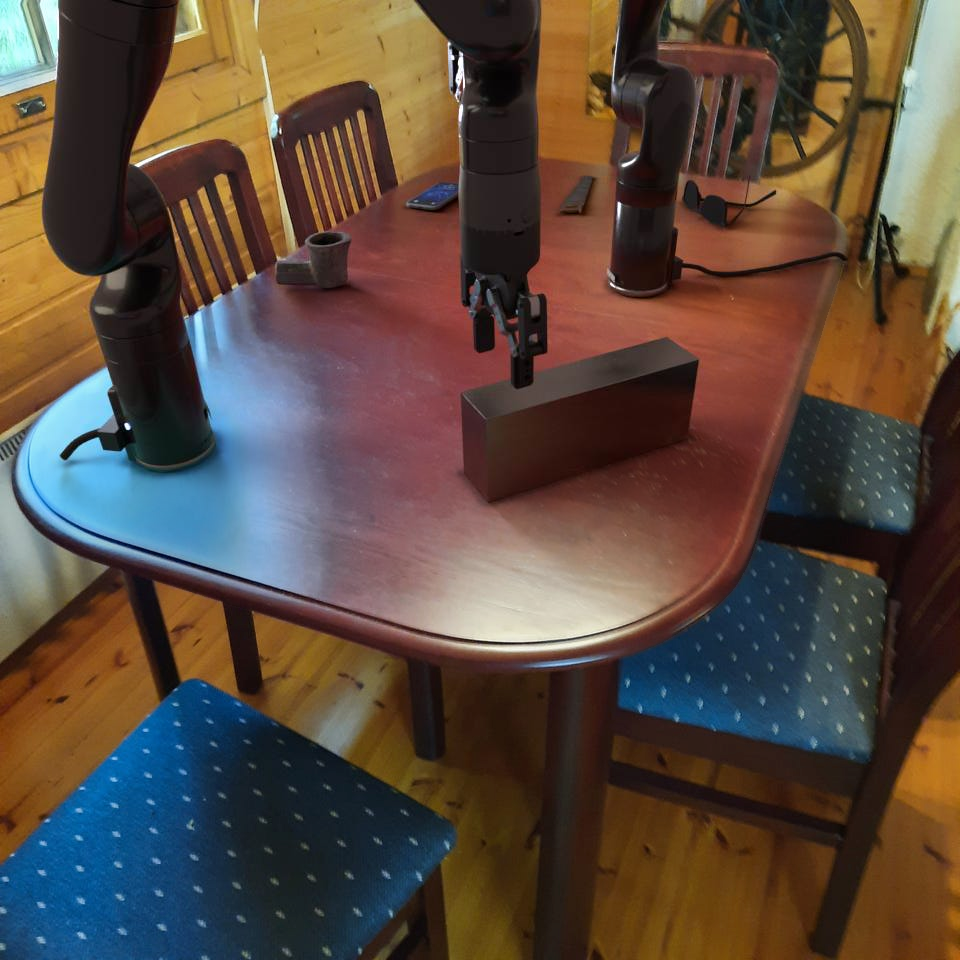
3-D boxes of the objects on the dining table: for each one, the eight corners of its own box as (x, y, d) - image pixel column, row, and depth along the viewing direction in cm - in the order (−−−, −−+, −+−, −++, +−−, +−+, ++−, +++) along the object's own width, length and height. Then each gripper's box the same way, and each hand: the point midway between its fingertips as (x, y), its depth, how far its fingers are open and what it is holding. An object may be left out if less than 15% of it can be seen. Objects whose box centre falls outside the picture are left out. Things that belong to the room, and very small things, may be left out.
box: (657, 414, 107) (666, 336, 101) (687, 438, 103) (699, 358, 96) (463, 473, 98) (460, 391, 92) (487, 502, 94) (485, 419, 87)
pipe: (280, 280, 143) (272, 233, 138) (357, 276, 144) (351, 229, 139) (276, 295, 138) (268, 248, 133) (355, 291, 139) (350, 243, 134)
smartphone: (403, 203, 170) (439, 180, 181) (404, 207, 171) (440, 185, 181) (436, 207, 167) (471, 184, 178) (436, 212, 168) (471, 189, 179)
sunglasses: (787, 221, 160) (792, 194, 157) (718, 230, 157) (722, 203, 154) (740, 193, 173) (744, 168, 170) (675, 201, 170) (678, 176, 167)
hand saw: (572, 176, 184) (572, 173, 184) (593, 177, 184) (593, 174, 183) (557, 214, 165) (557, 210, 165) (581, 215, 165) (581, 211, 164)
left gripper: (432, 198, 83) (441, 348, 92) (498, 245, 72) (501, 408, 82) (501, 185, 85) (503, 332, 95) (574, 229, 75) (569, 389, 85)
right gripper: (537, -4, 92) (538, 151, 101) (481, -19, 102) (486, 123, 112) (474, 4, 89) (481, 162, 99) (422, -12, 100) (433, 133, 109)
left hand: (502, 367), depth 89 cm, fingers open, 8 cm apart
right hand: (484, 141), depth 105 cm, fingers open, 8 cm apart
